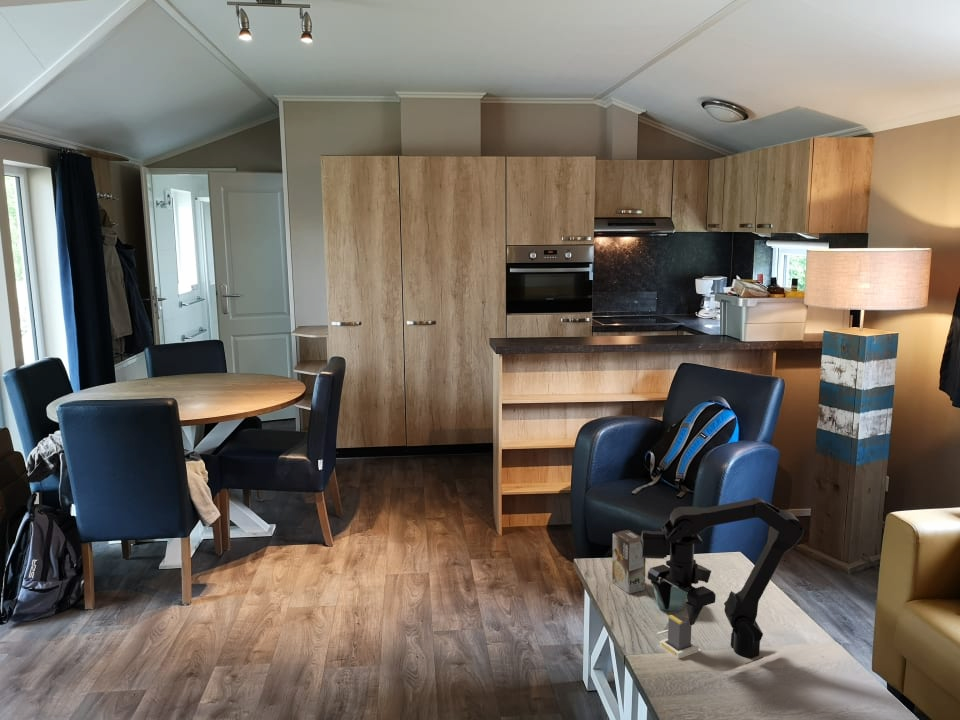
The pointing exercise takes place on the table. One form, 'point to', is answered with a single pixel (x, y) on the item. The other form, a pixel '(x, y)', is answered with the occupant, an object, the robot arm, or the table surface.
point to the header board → (674, 652)
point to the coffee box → (628, 562)
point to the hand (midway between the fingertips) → (679, 616)
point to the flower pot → (673, 599)
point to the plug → (679, 632)
